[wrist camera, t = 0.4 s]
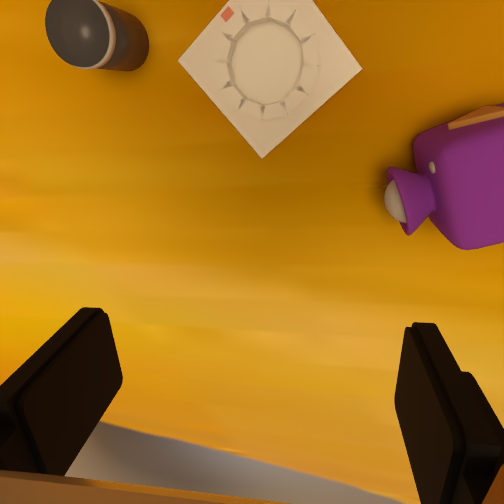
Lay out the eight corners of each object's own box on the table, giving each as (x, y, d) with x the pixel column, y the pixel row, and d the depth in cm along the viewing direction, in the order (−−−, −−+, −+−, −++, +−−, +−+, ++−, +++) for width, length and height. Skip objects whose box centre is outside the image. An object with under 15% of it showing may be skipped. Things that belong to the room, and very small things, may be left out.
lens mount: (275, -49, 30) (271, -62, 28) (360, 69, 33) (365, 67, 30) (181, 61, 35) (170, 59, 32) (263, 157, 38) (259, 162, 35)
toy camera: (359, 159, 36) (375, 182, 27) (504, 77, 32) (581, 73, 23) (403, 245, 39) (431, 292, 30) (542, 182, 35) (623, 216, 26)
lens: (120, -4, 34) (67, -29, 26) (160, 43, 35) (121, 32, 27) (88, 40, 35) (31, 28, 28) (127, 84, 37) (83, 83, 29)
